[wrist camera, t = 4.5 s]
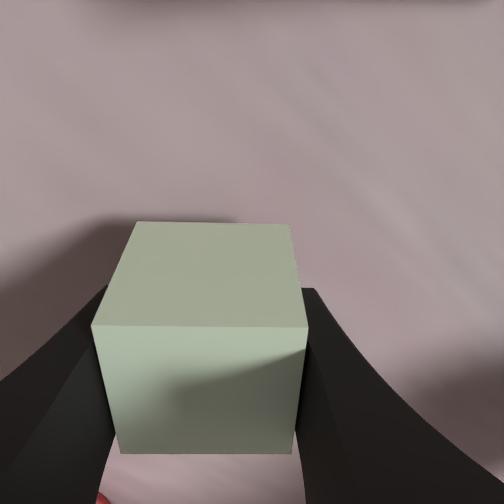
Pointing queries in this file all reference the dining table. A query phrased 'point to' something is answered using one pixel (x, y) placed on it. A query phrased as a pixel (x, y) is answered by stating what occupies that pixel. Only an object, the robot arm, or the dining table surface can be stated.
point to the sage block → (203, 339)
